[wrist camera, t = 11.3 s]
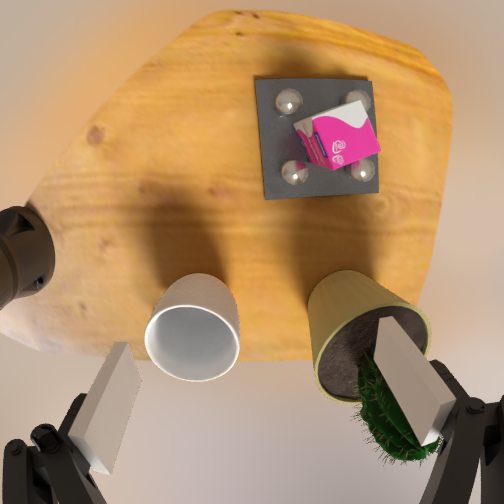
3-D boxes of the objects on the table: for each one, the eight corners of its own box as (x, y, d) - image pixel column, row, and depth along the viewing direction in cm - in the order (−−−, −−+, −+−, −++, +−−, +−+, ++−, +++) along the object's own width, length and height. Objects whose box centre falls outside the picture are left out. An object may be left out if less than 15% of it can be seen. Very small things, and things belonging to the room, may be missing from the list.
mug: (196, 352, 49) (187, 410, 36) (140, 315, 46) (114, 366, 34) (254, 289, 46) (260, 341, 33) (193, 244, 43) (176, 283, 31)
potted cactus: (397, 311, 48) (497, 438, 20) (320, 357, 50) (373, 511, 22) (365, 237, 44) (504, 357, 15) (275, 291, 46) (319, 470, 17)
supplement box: (290, 124, 37) (310, 115, 26) (330, 108, 37) (363, 96, 26) (308, 164, 39) (334, 171, 28) (347, 148, 38) (384, 150, 28)
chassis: (265, 198, 41) (268, 204, 37) (254, 81, 36) (256, 73, 32) (375, 192, 42) (389, 197, 37) (369, 82, 36) (382, 76, 32)
